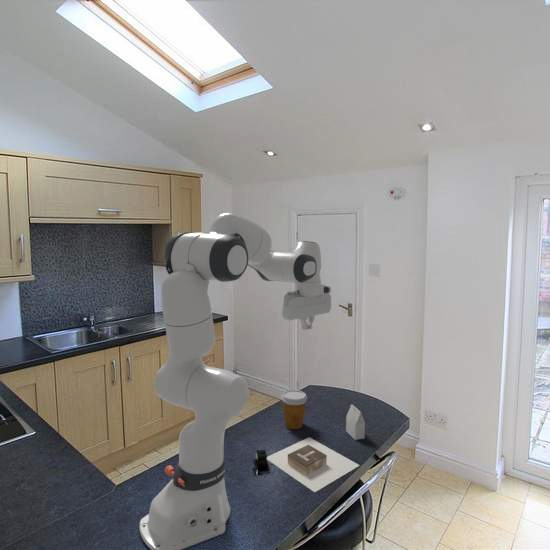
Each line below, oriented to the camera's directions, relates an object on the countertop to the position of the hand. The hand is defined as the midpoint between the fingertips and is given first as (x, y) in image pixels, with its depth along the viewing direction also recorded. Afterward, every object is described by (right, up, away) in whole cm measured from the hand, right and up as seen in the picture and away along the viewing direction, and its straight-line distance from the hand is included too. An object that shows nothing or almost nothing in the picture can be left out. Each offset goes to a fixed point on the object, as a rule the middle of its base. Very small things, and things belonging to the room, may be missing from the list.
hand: (307, 329), depth 139 cm
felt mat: (+1, -40, -12) cm, 42 cm away
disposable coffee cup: (-4, -38, +12) cm, 40 cm away
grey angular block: (+18, -39, +5) cm, 43 cm away
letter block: (+2, -38, -10) cm, 40 cm away
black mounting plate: (-15, -41, -14) cm, 46 cm away
